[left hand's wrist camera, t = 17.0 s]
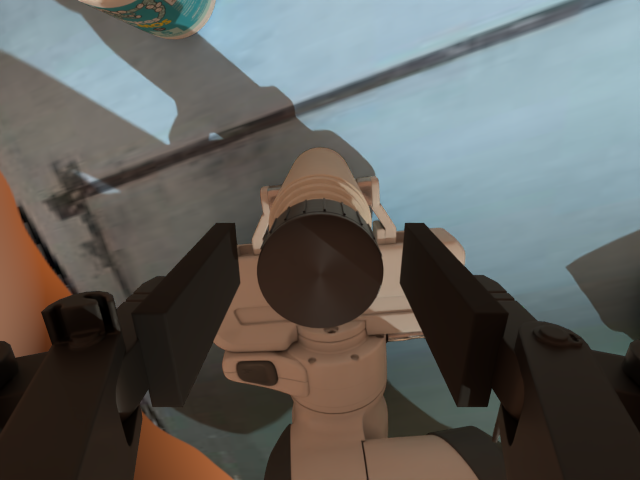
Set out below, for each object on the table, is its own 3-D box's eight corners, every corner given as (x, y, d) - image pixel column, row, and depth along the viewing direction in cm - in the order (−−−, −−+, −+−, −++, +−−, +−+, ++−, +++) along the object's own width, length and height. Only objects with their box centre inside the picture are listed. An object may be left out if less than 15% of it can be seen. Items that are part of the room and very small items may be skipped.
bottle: (329, 217, 32) (342, 349, 14) (279, 187, 31) (224, 290, 13) (361, 167, 30) (420, 246, 12) (309, 135, 29) (293, 170, 11)
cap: (397, 233, 14) (410, 254, 12) (338, 315, 15) (340, 347, 13) (299, 175, 13) (295, 187, 11) (246, 268, 15) (233, 294, 12)
